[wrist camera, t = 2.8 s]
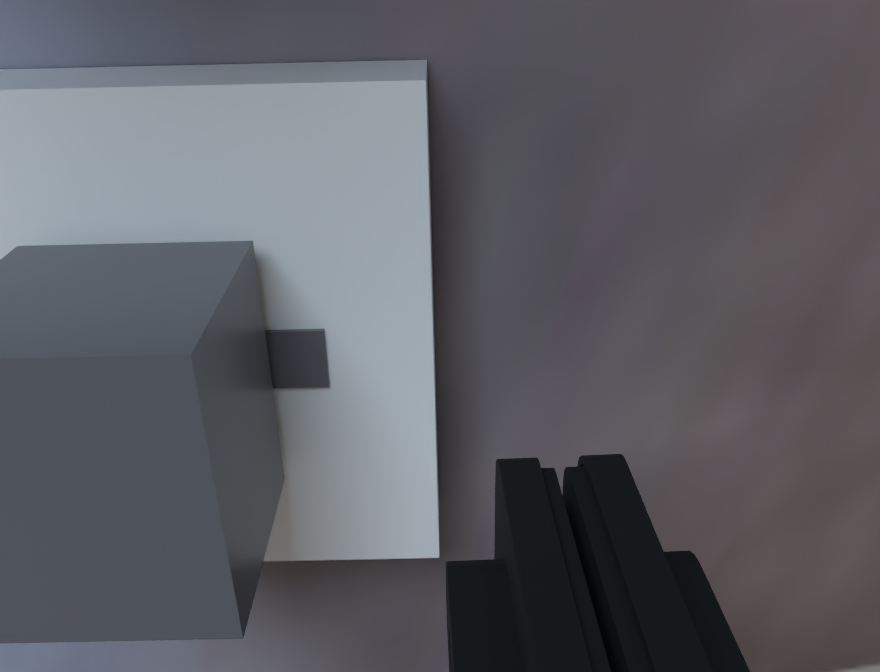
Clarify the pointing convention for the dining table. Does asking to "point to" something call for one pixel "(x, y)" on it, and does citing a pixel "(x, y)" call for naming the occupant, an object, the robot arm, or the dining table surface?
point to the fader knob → (133, 441)
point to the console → (271, 253)
